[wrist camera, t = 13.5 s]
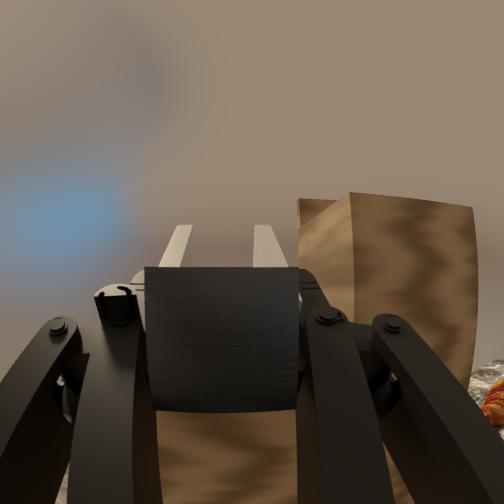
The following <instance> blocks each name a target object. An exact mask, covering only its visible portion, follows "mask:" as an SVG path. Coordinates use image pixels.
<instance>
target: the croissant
mask: <svg viewBox="0 0 504 504" xmlns="http://www.w3.org/2000/svg"><path fill="white" fill-rule="evenodd" d="M481 410H482V412H483V413H484V414H485V416H486V417H487V418H488V420H489V421H490V422H491V424H492V425H494V426H497V425H503V424H504V379H501V380H499V381H497V382H496V384H495V385H494V386H492V388H491V389H490V391H489V392H488V395H487V397H486V400H485V402H484V405H483V407H482V408H481Z"/></svg>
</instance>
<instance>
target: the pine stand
mask: <svg viewBox="0 0 504 504" xmlns="http://www.w3.org/2000/svg"><path fill="white" fill-rule="evenodd" d="M297 219H298V251H299V269H306V270H308V271H309V272H310V273H312V274H313V275H314V276H315V278H316V280H317V283H318V284H319V286H320V287H321V289H322V291H323V293H324V295H325V297H326V298H327V300H328V302H329V304H330V306H332V307H334V308H337V309H339V310H340V311H342V312H343V313H344V314H345V315H346V317H347V318H348V321H349V322H353V323H358V324H366V325H371V324H372V321H373V319H374V317H375V316H376V315H379V314H384V313H389V314H395V315H397V316H399V317H401V318H403V319H404V320H406V321H407V322H408V323H409V324H410V325H411V326H412V328H413V329H414V330H415V331H416V332H417V333H418V334H419V335H420V336H421V338H422V339H423V340H424V341H425V342H426V343H427V344H428V346H429V347H430V348H431V349H432V350H433V351H434V352H435V354H436V355H437V356H438V357H439V358H440V359H441V361H442V362H443V363H444V364H445V365H446V367H447V368H448V369H449V370H450V371H451V373H452V374H453V375H454V376H455V377H456V379H457V380H458V381H459V382H460V383H461V385H462V386H463V387H464V388H465V390H466V391H467V392H468V387H469V382H470V376H471V370H472V364H473V356H474V349H475V340H476V329H477V312H478V259H477V244H476V233H475V223H474V216H473V209H472V207H468V206H462V205H455V204H448V203H442V202H435V201H428V200H419V199H412V198H403V197H395V196H385V195H375V194H365V193H352V192H349V193H347V194H346V195H345V196H343V197H342V198H340V199H339V200H321V199H298V200H297ZM391 375H392V376H393V378H394V379H395V380H397V378H396V377H395V376H394V374H393V373H392V374H391ZM156 416H157V440H158V456H159V469H160V480H161V490H162V498H163V504H297V442H296V411H295V409H294V410H284V411H271V412H254V413H187V412H170V411H157V410H156ZM383 445H384V443H383ZM384 449H385V454H386V458H387V463H388V468H389V473H390V478H391V483H392V488H393V494H394V499H395V504H415V503H414V501H413V499H412V497H411V495H410V493H409V491H408V489H407V487H406V485H405V483H404V481H403V479H402V477H401V475H400V473H399V472H398V470H397V468H396V466H395V464H394V462H393V460H392V458H391V456H390V454H389V452H388V450H387V449H386V447H385V445H384Z"/></svg>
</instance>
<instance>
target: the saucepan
mask: <svg viewBox="0 0 504 504" xmlns="http://www.w3.org/2000/svg"><path fill="white" fill-rule="evenodd" d="M144 301H145V331H146V348H147V362H148V374H149V384H150V393H151V402H152V409H153V410H157V411H170V412H187V413H254V412H271V411H284V410H294V409H297V389H298V354H299V267H144Z"/></svg>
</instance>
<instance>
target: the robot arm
mask: <svg viewBox="0 0 504 504" xmlns="http://www.w3.org/2000/svg"><path fill="white" fill-rule="evenodd" d="M254 234H255V235H254V256H253V267H288V265H287V263H286V260H285V258H284V256H283V253H282V251H281V249H280V247H279V244H278V242H277V239H276V237H275V235H274V232H273V230H272V228H271V226H270V225H255V233H254ZM159 267H195V260H194V238H193V225H177V228H176V230H175V232H174V234H173V236H172V238H171V240H170V243H169V245H168V247H167V249H166V251H165V253H164V255H163V258H162V260H161V262H160V265H159ZM94 299H95V303H96V306H97V310H98V313H99V316H100V322H99V324H97V325H93V326H87V327H80V328H78V325H77V322H76V321H75V319H73V318H72V317H69V316H58V317H55V318H53V319H51V320H49V321H48V322H47V323H45V324H44V325H43V326H42V328H41V329H40V330H39V331H38V333H37V334H36V335H35V336H34V338H33V339H32V340H31V341H30V343H29V344H28V345H27V347H26V348H25V349H24V351H23V352H22V353H21V355H20V356H19V357H18V359H17V360H16V361H15V363H14V364H13V365H12V367H11V368H10V370H9V371H8V373H7V374H6V375H5V377H4V378H3V380H2V381H1V383H0V504H55V501H56V498H57V495H58V492H59V489H60V486H61V483H62V480H63V477H64V475H65V472H66V469H67V466H68V464H69V461H70V465H69V476H68V490H67V504H163V498H162V490H161V480H160V469H159V456H158V440H157V416H156V410H153V409H152V402H151V393H150V384H149V374H148V362H147V348H146V331H145V301H144V270H142V271H140V272H139V273H138V274H136V275H135V276H134V278H133V279H132V282H131V283H130V285H126V284H113V285H109V286H106V287H104V288H102V289H101V290H99V291H98V292H97V293H96V294H95V295H94ZM392 373H393V374H394V376H395V377H396V378H397V380H395V379H394V378H393V376H392V375H391V374H392ZM60 375H61V377H62V380H61V381H60V383H58V384H57V380H58V378H59V376H60ZM295 411H296V442H297V504H395V499H394V494H393V488H392V483H391V478H390V473H389V468H388V463H387V458H386V454H385V449H384V445H385V447H386V449H387V450H388V452H389V454H390V456H391V458H392V460H393V462H394V464H395V466H396V468H397V470H398V472H399V473H400V475H401V477H402V479H403V481H404V483H405V485H406V487H407V489H408V491H409V493H410V495H411V497H412V499H413V501H414V503H415V504H504V441H503V439H502V438H501V436H500V435H499V433H498V432H497V431H496V429H495V428H494V426H493V425H492V424H491V422H490V421H489V420H488V418H487V417H486V416H485V414H484V413H483V412H482V410H481V409H480V408H479V406H478V405H477V404H476V402H475V401H474V400H473V399H472V397H471V396H470V395H469V393H468V392H467V391H466V390H465V388H464V387H463V386H462V385H461V383H460V382H459V381H458V380H457V379H456V377H455V376H454V375H453V374H452V373H451V371H450V370H449V369H448V368H447V367H446V365H445V364H444V363H443V362H442V361H441V359H440V358H439V357H438V356H437V355H436V354H435V352H434V351H433V350H432V349H431V348H430V347H429V346H428V344H427V343H426V342H425V341H424V340H423V339H422V338H421V336H420V335H419V334H418V333H417V332H416V331H415V330H414V329H413V328H412V326H411V325H410V324H409V323H408V322H407V321H406V320H404V319H403V318H401V317H399V316H397V315H395V314H389V313H384V314H379V315H376V316H375V317H374V319H373V321H372V324H371V325H366V324H358V323H353V322H349V321H348V318H347V317H346V315H345V314H344V313H343V312H342V311H340V310H339V309H337V308H334V307H332V306H330V304H329V302H328V300H327V298H326V297H325V295H324V293H323V291H322V289H321V287H320V286H319V284H318V283H317V280H316V278H315V276H314V275H313V274H312V273H310V272H309V271H308V270H306V269H299V354H298V389H297V409H295ZM383 443H384V445H383Z"/></svg>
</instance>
